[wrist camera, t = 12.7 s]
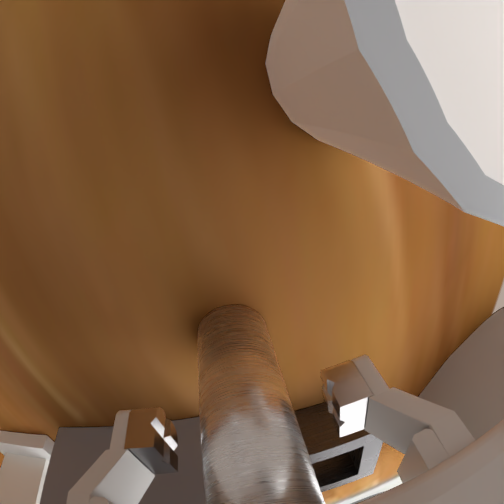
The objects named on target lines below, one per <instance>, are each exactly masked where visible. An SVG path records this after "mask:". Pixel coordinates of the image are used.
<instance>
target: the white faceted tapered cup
mask: <svg viewBox="0 0 504 504" xmlns="http://www.w3.org/2000/svg"><path fill="white" fill-rule="evenodd" d="M265 65H266V69H267V73H268V77H269V81H270V85H271V90H272V94H273V96H274V97H275V99H276V100H277V101H278V103H279V104H280V106H281V107H282V109H283V110H284V112H285V113H286V114H287V116H288V117H289V119H290V120H291V122H292V123H294V124H295V125H297V126H298V127H300V128H301V129H303V130H304V131H305V132H307V133H308V134H310V135H311V136H312V137H314V138H315V139H317V140H318V141H321V142H323V143H326V144H328V145H331V146H333V147H336V148H338V149H340V150H343V151H345V152H348V153H350V154H352V155H354V156H357V157H359V158H361V159H364V160H366V161H368V162H370V163H372V164H375V165H377V166H379V167H381V168H383V169H385V170H387V171H389V172H391V173H394V174H396V175H398V176H400V177H402V178H404V179H406V180H408V181H410V182H411V183H413V184H415V185H417V186H419V187H421V188H423V189H425V190H427V191H429V192H430V193H432V194H434V195H436V196H438V197H439V198H441V199H443V200H445V201H446V202H448V203H450V204H452V205H453V206H455V207H457V208H458V209H460V210H462V211H463V212H465V213H468V214H471V215H474V216H477V217H480V218H483V219H485V220H488V221H491V222H493V223H496V224H499V225H501V226H504V0H285V2H284V5H283V7H282V9H281V12H280V14H279V17H278V19H277V21H276V24H275V26H274V29H273V31H272V34H271V37H270V42H269V47H268V52H267V57H266V62H265Z"/></svg>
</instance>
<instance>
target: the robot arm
mask: <svg viewBox="0 0 504 504" xmlns="http://www.w3.org/2000/svg"><path fill="white" fill-rule="evenodd" d="M320 373H321V379H322V382H323V385H322V394H323V398H324V402H325V405H326V407H327V410H328V412H330V413H332V414H333V424H334V426H335V428H336V431H337V433H338V435H339V437H343V436H346V435H349V434H352V433H355V432H357V431H360V430H363V429H365V431H367V432H368V433H370V434H372V435H373V436H375V437H377V438H378V439H380V440H381V441H383V442H385V443H386V444H388V445H390V446H391V447H393V448H395V449H397V450H398V451H400V452H402V453H403V454H405V456H404V458H403V460H402V462H401V464H400V466H399V468H398V470H397V472H398V474H399V476H400V478H401V480H402V482H403V484H401V485H399V486H396V487H394V488H392V489H390V490H388V491H386V492H383V493H381V494H379V495H377V496H374V497H372V498H369V499H367V500H364V501H362V502H359V503H356V504H504V419H503V420H502V421H500V422H499V423H498V424H497V425H495V426H494V427H493V428H492V429H490V430H489V431H488V432H486V433H485V434H484V435H482V436H481V437H480V438H478V439H477V440H475V439H474V438H473V436H472V435H471V433H470V432H469V430H468V429H467V428H466V426H465V425H464V423H463V422H462V421H461V419H460V418H459V417H458V415H457V414H456V413H455V411H453V410H450V409H447V408H445V407H442V406H439V405H437V404H434V403H432V402H429V401H427V400H424V399H422V398H419V397H417V396H414V395H412V394H409V393H407V392H404V391H402V390H400V389H397V388H395V387H393V388H390V389H389V387H388V385H387V384H386V382H385V381H384V379H383V378H382V376H381V375H380V373H379V372H378V370H377V369H376V367H375V366H374V364H373V363H372V361H371V360H370V358H369V357H368V356H367V355H363V356H360V357H357V358H354V359H352V360H348V361H345V362H343V363H340V364H337V365H334V366H331V367H328V368H325V369H322V370H321V372H320ZM165 414H166V413H165V411H164V410H163V409H162V407H154V408H144V409H132V410H120V411H118V412H117V414H116V417H115V422H114V427H113V432H112V438H111V443H110V449H109V450H105V451H104V452H103V454H102V455H101V456H100V457H99V458H98V459H97V460H96V461H95V463H94V464H93V465H92V466H91V467H90V468H89V469H88V471H87V472H86V473H85V474H84V475H83V476H82V477H81V478H80V479H79V481H78V482H77V483H76V484H75V485H74V486H73V487H72V488H71V489H70V491H69V492H68V496H67V502H66V504H138V503H139V502H140V500H141V498H142V497H143V495H144V493H145V492H146V490H147V488H148V487H149V485H150V483H151V482H152V480H153V478H154V477H155V475H154V474H165V473H176V472H178V456H177V454H176V453H175V452H174V450H175V448H176V447H177V446H178V436H177V432H176V429H175V426H174V424H173V423H172V421H171V420H169V419H167V418H165Z"/></svg>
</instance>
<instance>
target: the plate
mask: <svg viewBox="0 0 504 504" xmlns="http://www.w3.org/2000/svg"><path fill="white" fill-rule="evenodd" d="M54 443H55V442H54V441H52V440H51V439H50V438H49V437H48V436H47V435H36V434H25V433H16V432H8V431H1V430H0V452H1V453H2V454H3V455H4V456H5V453H6V452H7V453H12V454H18V455H23V456H29V457H36V458H43V459H47V460H48V461H50V457H51V454H52V450H53V446H54Z"/></svg>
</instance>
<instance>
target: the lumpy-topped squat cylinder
mask: <svg viewBox="0 0 504 504" xmlns="http://www.w3.org/2000/svg"><path fill="white" fill-rule="evenodd" d="M418 397H419V398H422V399H424V400H427V401H429V402H432V403H434V404H437V405H439V406H442V407H445V408H447V409H450V410H453V411H455V413H456V414H457V415H458V417H459V418H460V419H461V421H462V422H463V423H464V425H465V426H466V428H467V429H468V430H469V432H470V433H471V435H472V436H473V438H474V439H475V440H477V439H478V438H480V437H481V436H482V435H484V434H485V433H486V432H488V431H489V430H490V429H492V428H493V427H494V426H495V425H497V424H498V423H499V422H500V421H502V420H503V419H504V307H502V308H500V309H499V310H497V311H496V312H494V313H493V314H492V316H491V317H489V318H488V319H487V320H486V321H484V322H483V323H482V324H481V325H480V326H479V327H478V328H477V329H476V330H475V331H474V332H473V333H472V334H471V335H470V336H469V337H468V338H467V339H466V340H465V341H464V342H463V343H462V344H461V345H460V346H459V347H458V348H457V349H456V350H455V351H454V353H453V354H452V355H451V356H450V357H449V358H448V359H447V360H446V362H445V363H444V364H443V365H442V367H441V368H440V369H439V370H438V372H437V373H436V374H435V376H434V377H433V378H432V380H431V381H430V382H429V383H428V385H427V386H426V387H425V389H424V390H423V391H422V392H421V394H420V395H419V396H418Z"/></svg>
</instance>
